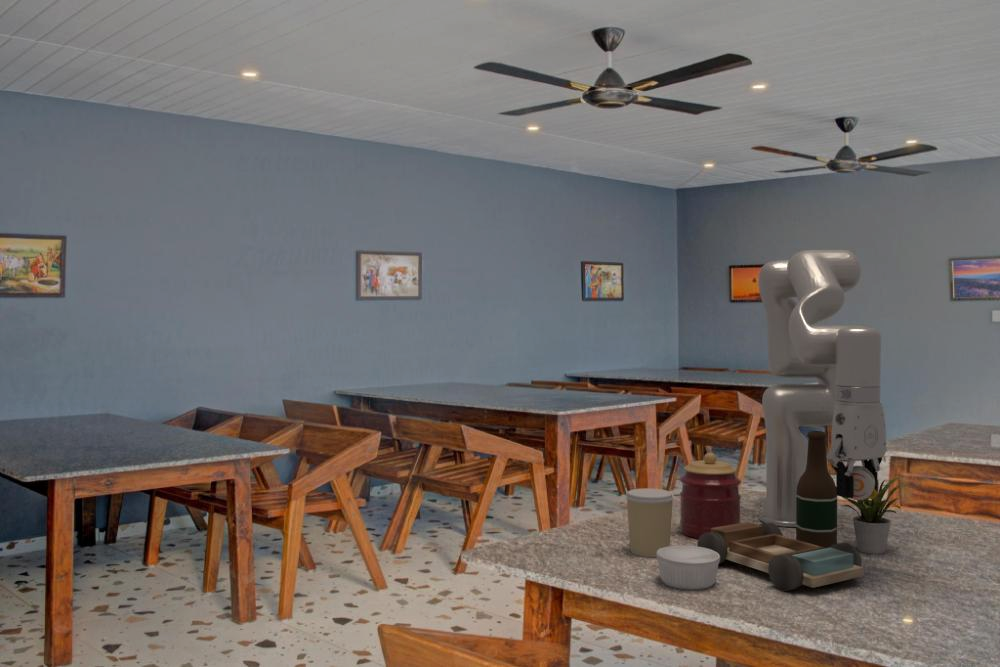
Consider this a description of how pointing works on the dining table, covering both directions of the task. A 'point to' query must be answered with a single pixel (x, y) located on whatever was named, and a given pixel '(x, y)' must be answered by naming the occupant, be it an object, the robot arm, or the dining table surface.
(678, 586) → the ramekin
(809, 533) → the beer bottle
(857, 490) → the roller toy
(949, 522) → the dining table surface
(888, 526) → the house plant
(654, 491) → the coffee cup
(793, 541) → the chassis
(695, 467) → the canister
